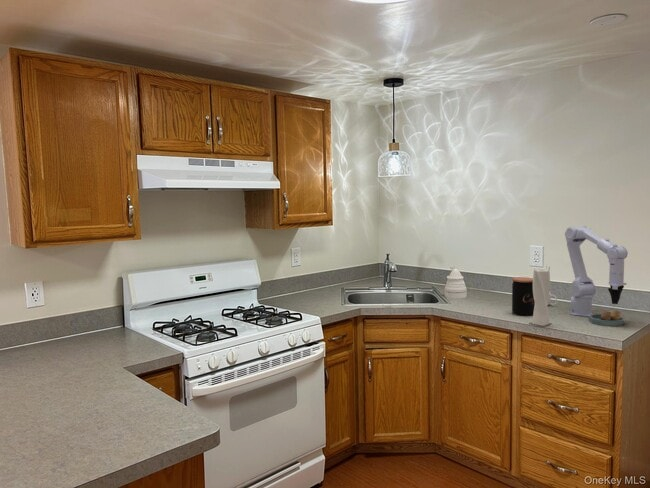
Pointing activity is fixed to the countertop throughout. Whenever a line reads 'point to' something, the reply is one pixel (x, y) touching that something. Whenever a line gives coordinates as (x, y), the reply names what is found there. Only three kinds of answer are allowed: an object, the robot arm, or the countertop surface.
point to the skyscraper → (541, 296)
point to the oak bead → (615, 315)
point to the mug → (550, 299)
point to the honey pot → (455, 285)
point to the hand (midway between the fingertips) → (615, 302)
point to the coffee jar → (522, 296)
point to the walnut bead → (606, 315)
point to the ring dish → (605, 321)
